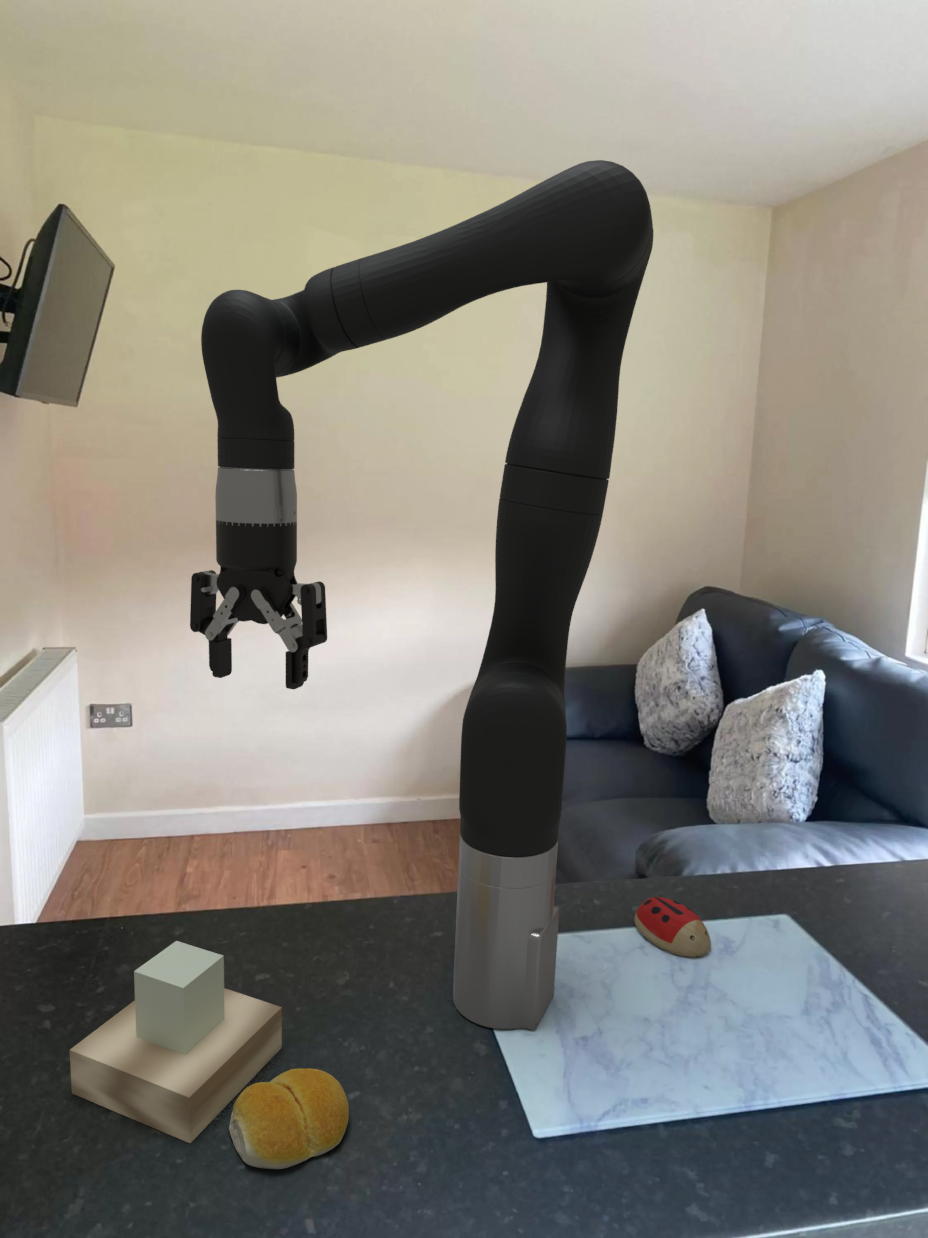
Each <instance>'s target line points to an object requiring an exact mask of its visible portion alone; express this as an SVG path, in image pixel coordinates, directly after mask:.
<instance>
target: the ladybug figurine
mask: <svg viewBox="0 0 928 1238" xmlns="http://www.w3.org/2000/svg"><path fill="white" fill-rule="evenodd" d="M634 924H635V927H636V928H637V930H638V931H639V933H640V934H641V935H642V936H643V937H644V938H646V940H648V941H649V942H650V943H652V944H653V945H655V946H657V947H659V948H660V949H663V950H664V951H666V950H667V951H666V952H668V951H669V952H668V953H671V954H674V955H677V956H681V955H682V956H681V957H686V956H690V957H689V958H697V957H696V956H698V957H702V956H705V955H707V953H708V952H709V951H710V949H711V945H712V942H711V941H712V940H711V938H710V933H709V932H708V929H707V927H706V925H705V924H704V922H703V921H702V919H701V918H700V917H699V915H697V914H696V913H695V912H694V911H693V910H691V909H690V908H689V907H687V906H685V905H684V904H682V903H680V902H678V901H676V900H673V899H670V898H667V897H663V896H653V897H650V898H647V899H645V900H644V901H643V902H642V903H641V904H640V905H639V907H638V908H637V910H636V912H635V915H634Z"/></svg>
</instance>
